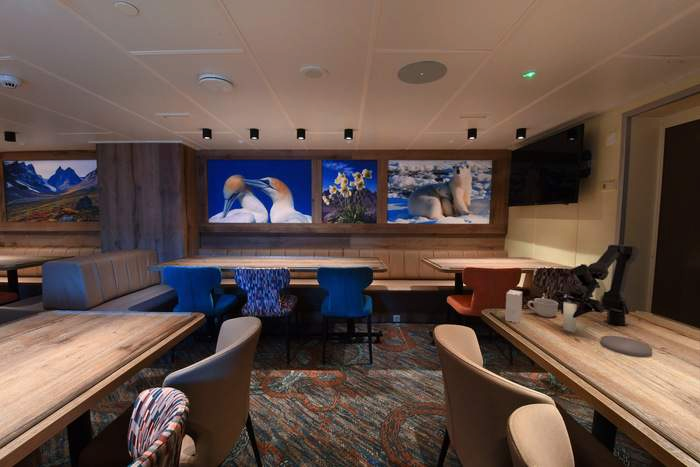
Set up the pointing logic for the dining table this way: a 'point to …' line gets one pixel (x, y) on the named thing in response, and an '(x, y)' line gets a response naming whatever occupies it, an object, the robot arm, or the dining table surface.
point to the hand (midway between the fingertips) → (567, 315)
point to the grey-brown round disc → (626, 346)
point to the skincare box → (513, 306)
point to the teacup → (544, 307)
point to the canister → (569, 316)
